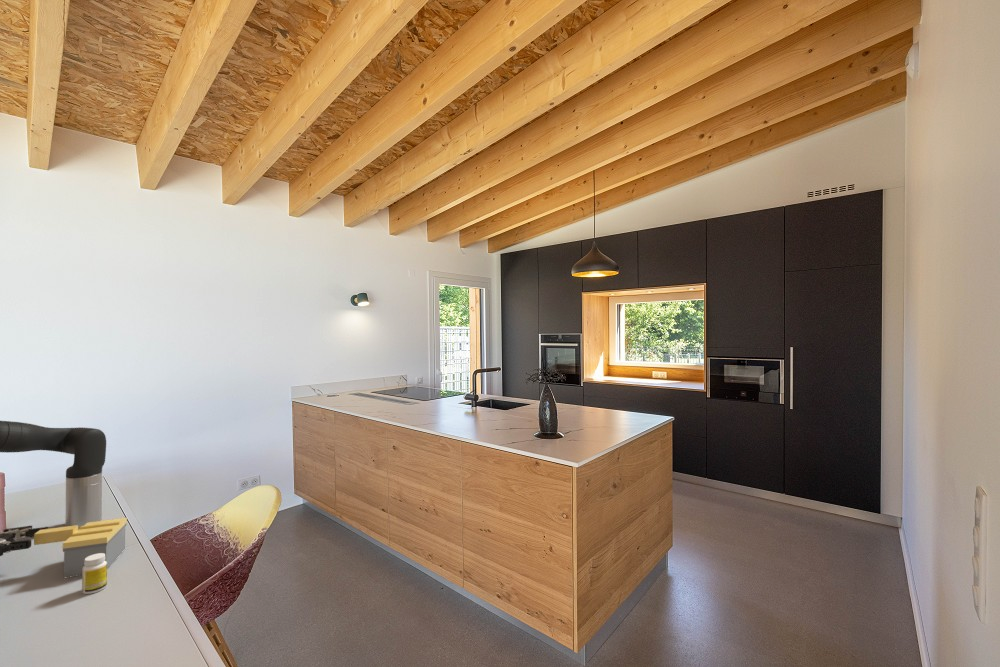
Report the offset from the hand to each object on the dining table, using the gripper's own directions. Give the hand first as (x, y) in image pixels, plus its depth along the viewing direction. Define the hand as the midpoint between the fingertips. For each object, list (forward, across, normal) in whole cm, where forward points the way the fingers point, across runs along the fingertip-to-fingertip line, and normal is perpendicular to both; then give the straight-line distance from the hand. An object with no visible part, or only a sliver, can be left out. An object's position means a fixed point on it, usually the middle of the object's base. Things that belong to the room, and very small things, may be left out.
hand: (39, 537), depth 124 cm
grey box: (+12, 0, +10) cm, 16 cm away
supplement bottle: (+18, -17, +10) cm, 27 cm away
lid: (+8, 0, +1) cm, 9 cm away
